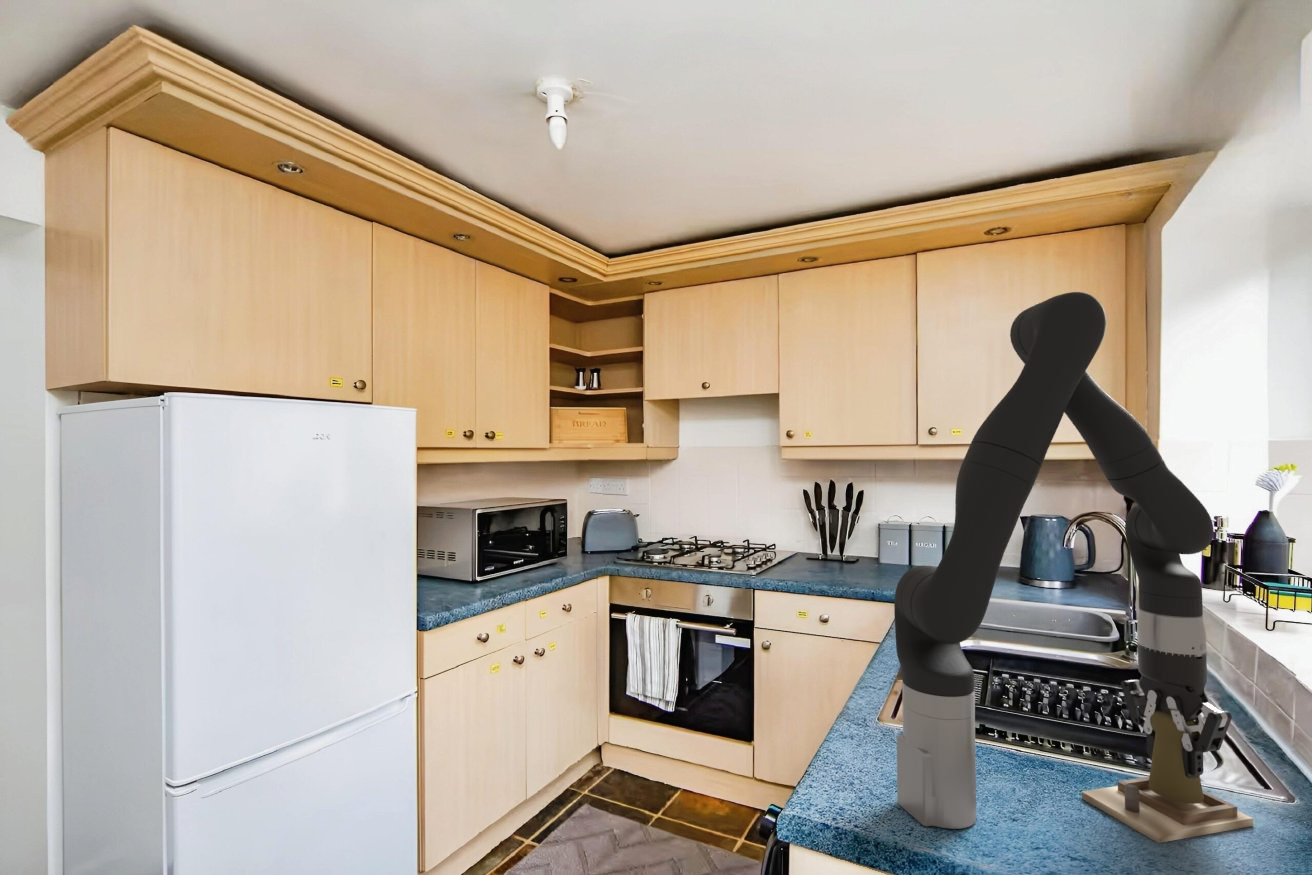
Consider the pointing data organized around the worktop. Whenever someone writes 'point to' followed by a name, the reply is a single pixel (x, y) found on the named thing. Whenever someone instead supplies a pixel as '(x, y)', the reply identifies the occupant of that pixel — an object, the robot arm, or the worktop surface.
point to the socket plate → (1165, 811)
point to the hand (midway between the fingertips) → (1174, 768)
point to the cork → (1171, 762)
